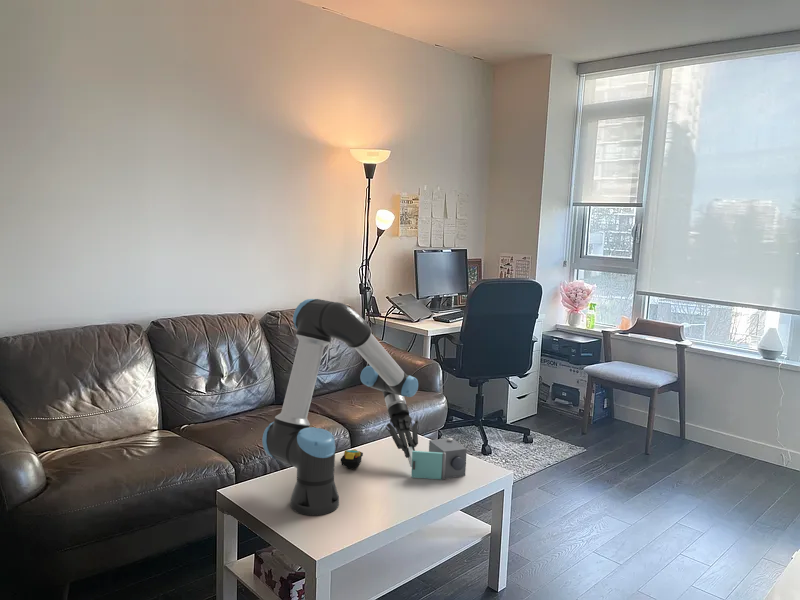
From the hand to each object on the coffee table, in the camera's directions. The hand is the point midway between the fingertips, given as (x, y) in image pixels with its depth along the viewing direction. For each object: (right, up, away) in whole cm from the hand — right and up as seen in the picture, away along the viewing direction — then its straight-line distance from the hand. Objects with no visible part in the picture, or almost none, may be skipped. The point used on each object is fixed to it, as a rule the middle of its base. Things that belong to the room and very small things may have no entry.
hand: (413, 465), depth 218 cm
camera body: (+12, -3, +5) cm, 13 cm away
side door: (+5, -4, -3) cm, 7 cm away
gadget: (-22, -2, +7) cm, 24 cm away
